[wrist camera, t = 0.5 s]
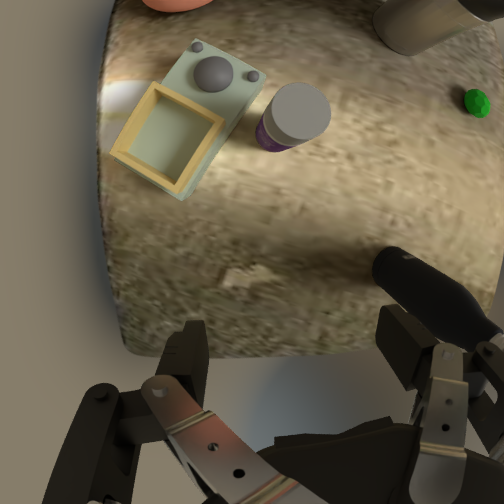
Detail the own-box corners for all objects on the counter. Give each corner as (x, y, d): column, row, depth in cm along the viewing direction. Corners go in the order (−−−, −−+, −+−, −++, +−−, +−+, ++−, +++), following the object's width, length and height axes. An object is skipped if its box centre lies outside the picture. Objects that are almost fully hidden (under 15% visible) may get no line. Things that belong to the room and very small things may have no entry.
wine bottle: (383, 294, 40) (511, 433, 11) (364, 265, 38) (516, 410, 9) (413, 268, 39) (556, 380, 10) (396, 237, 37) (567, 342, 8)
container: (248, 140, 33) (257, 119, 18) (267, 109, 31) (289, 69, 17) (281, 159, 33) (314, 153, 19) (300, 128, 32) (343, 103, 18)
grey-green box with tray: (201, 57, 29) (191, 26, 20) (261, 89, 31) (269, 65, 22) (132, 160, 32) (101, 159, 24) (190, 195, 34) (175, 204, 25)
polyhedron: (455, 99, 31) (474, 96, 27) (465, 86, 30) (483, 82, 26) (470, 123, 32) (489, 122, 28) (480, 109, 31) (498, 107, 27)
